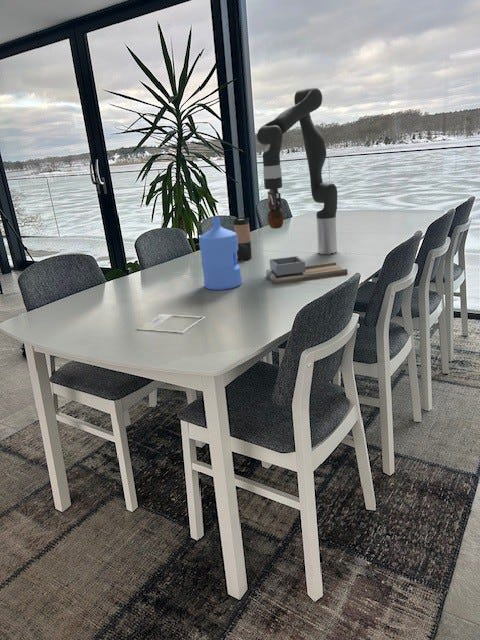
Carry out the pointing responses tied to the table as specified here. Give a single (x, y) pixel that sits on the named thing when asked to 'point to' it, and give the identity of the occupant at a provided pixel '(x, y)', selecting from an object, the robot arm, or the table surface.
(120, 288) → the table surface
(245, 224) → the travel mug
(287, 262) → the shallow grey tray
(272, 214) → the wooden figurine
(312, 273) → the rail board
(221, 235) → the water jug
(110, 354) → the table surface
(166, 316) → the photo frame
